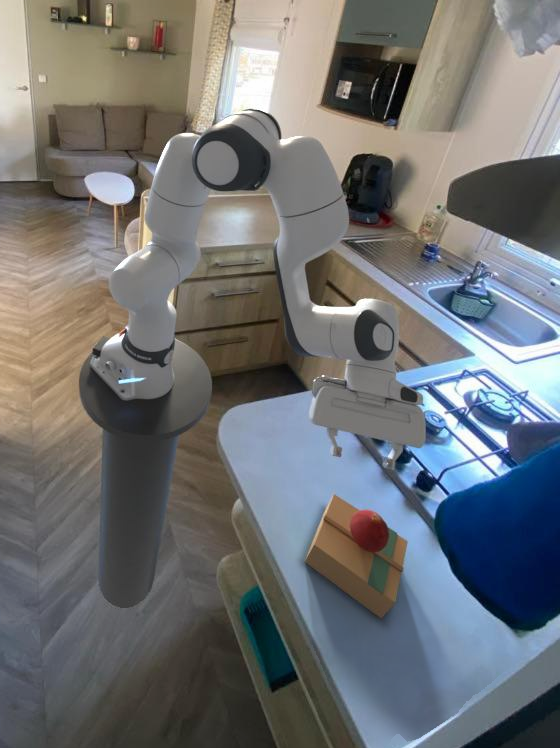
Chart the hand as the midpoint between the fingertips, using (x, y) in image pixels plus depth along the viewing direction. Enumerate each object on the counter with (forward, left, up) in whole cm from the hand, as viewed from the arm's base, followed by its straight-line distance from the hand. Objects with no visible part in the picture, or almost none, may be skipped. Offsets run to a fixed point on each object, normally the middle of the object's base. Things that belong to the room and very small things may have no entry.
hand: (361, 462), depth 77 cm
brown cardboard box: (+5, -10, -13) cm, 17 cm away
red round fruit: (+5, -10, -7) cm, 13 cm away
